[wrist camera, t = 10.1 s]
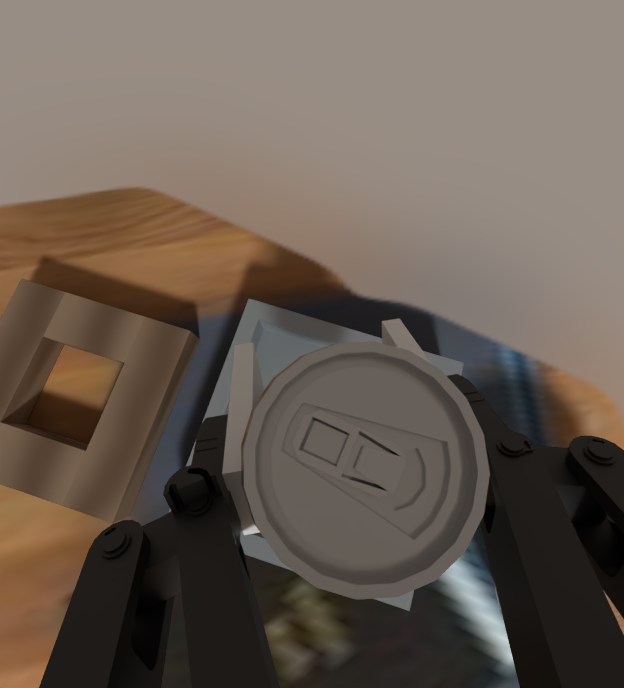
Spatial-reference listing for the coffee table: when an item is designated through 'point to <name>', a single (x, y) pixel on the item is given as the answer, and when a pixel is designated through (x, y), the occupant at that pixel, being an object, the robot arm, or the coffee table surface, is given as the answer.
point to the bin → (274, 356)
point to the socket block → (119, 413)
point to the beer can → (365, 469)
